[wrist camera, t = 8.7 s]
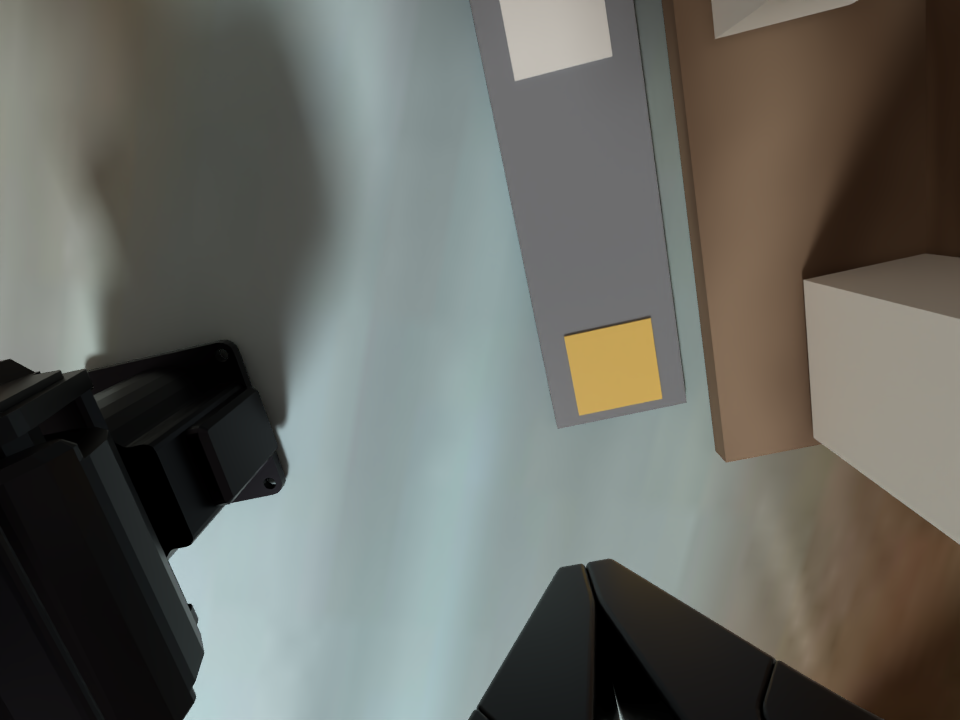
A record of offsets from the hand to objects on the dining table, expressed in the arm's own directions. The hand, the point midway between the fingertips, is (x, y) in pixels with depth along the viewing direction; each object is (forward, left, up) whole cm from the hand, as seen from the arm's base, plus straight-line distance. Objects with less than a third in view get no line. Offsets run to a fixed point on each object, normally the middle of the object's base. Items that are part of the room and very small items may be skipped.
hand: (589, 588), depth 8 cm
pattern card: (+3, +5, -13) cm, 14 cm away
